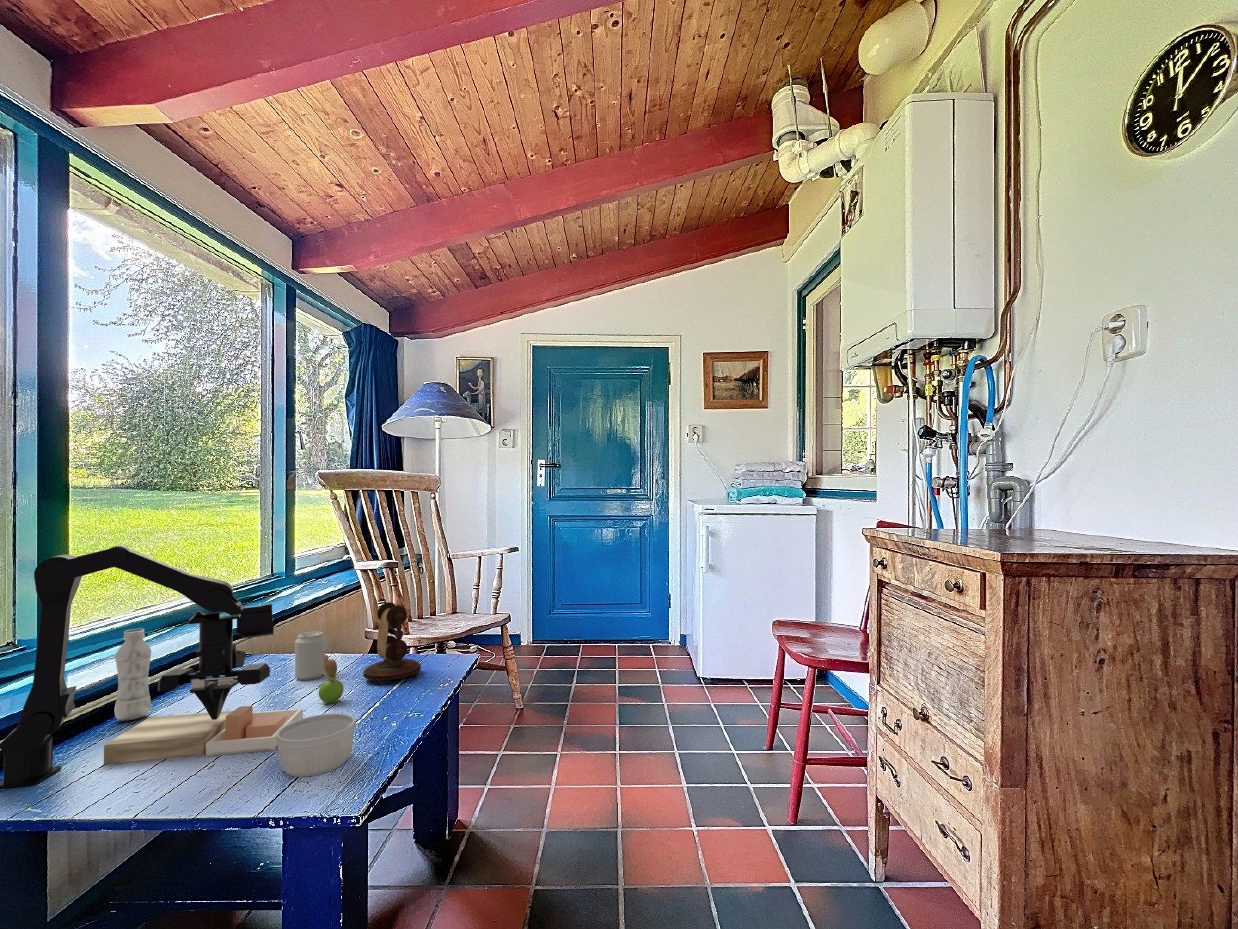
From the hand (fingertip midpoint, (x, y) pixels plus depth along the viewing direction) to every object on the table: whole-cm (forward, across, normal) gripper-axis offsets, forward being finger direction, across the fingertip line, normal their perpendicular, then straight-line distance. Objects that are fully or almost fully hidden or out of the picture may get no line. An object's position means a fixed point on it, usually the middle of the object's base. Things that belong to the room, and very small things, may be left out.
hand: (215, 719), depth 120 cm
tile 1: (+1, -4, +1) cm, 4 cm away
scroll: (+5, -28, -36) cm, 46 cm away
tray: (+4, -8, 0) cm, 9 cm away
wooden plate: (+4, +7, 0) cm, 9 cm away
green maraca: (+5, -17, -19) cm, 26 cm away
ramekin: (+5, -25, +16) cm, 30 cm away
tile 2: (+1, -10, 0) cm, 10 cm away
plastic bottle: (+4, +25, -18) cm, 31 cm away
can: (+5, -5, -42) cm, 43 cm away
